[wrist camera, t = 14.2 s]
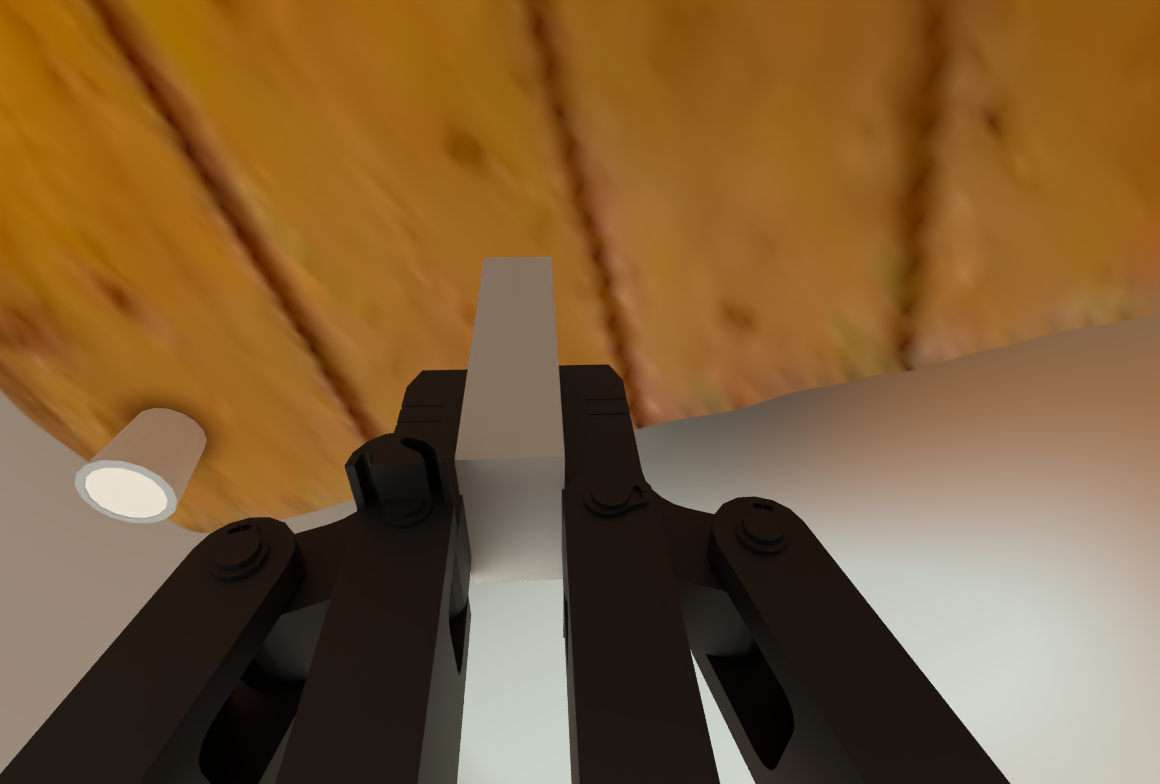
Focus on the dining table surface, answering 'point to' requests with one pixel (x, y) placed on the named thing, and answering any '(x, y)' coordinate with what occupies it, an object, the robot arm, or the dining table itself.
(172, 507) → the beige cylinder
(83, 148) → the dining table surface
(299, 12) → the dining table surface
